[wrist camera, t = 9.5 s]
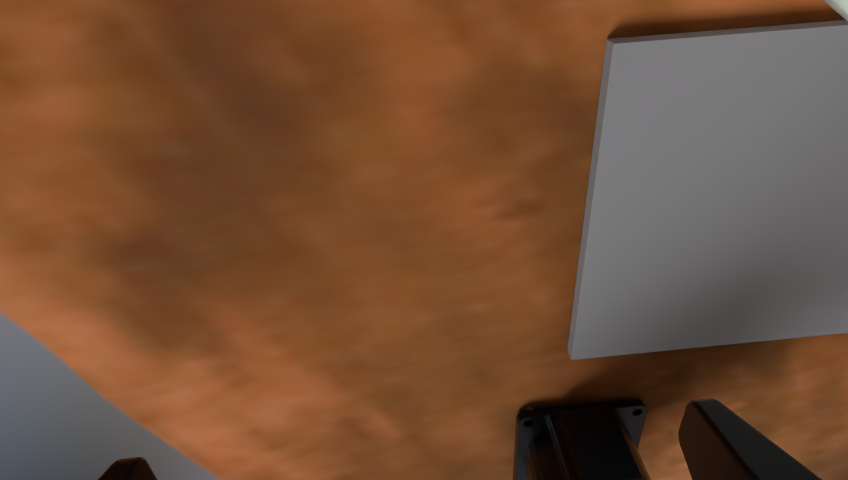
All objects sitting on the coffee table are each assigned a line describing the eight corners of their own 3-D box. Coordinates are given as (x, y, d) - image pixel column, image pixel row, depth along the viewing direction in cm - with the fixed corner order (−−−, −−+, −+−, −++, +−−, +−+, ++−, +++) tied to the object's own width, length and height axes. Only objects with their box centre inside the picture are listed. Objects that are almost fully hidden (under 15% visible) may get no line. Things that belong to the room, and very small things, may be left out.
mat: (860, 321, 26) (870, 330, 26) (567, 350, 26) (571, 360, 25) (1027, 5, 18) (1046, 8, 18) (606, 38, 18) (613, 43, 17)
